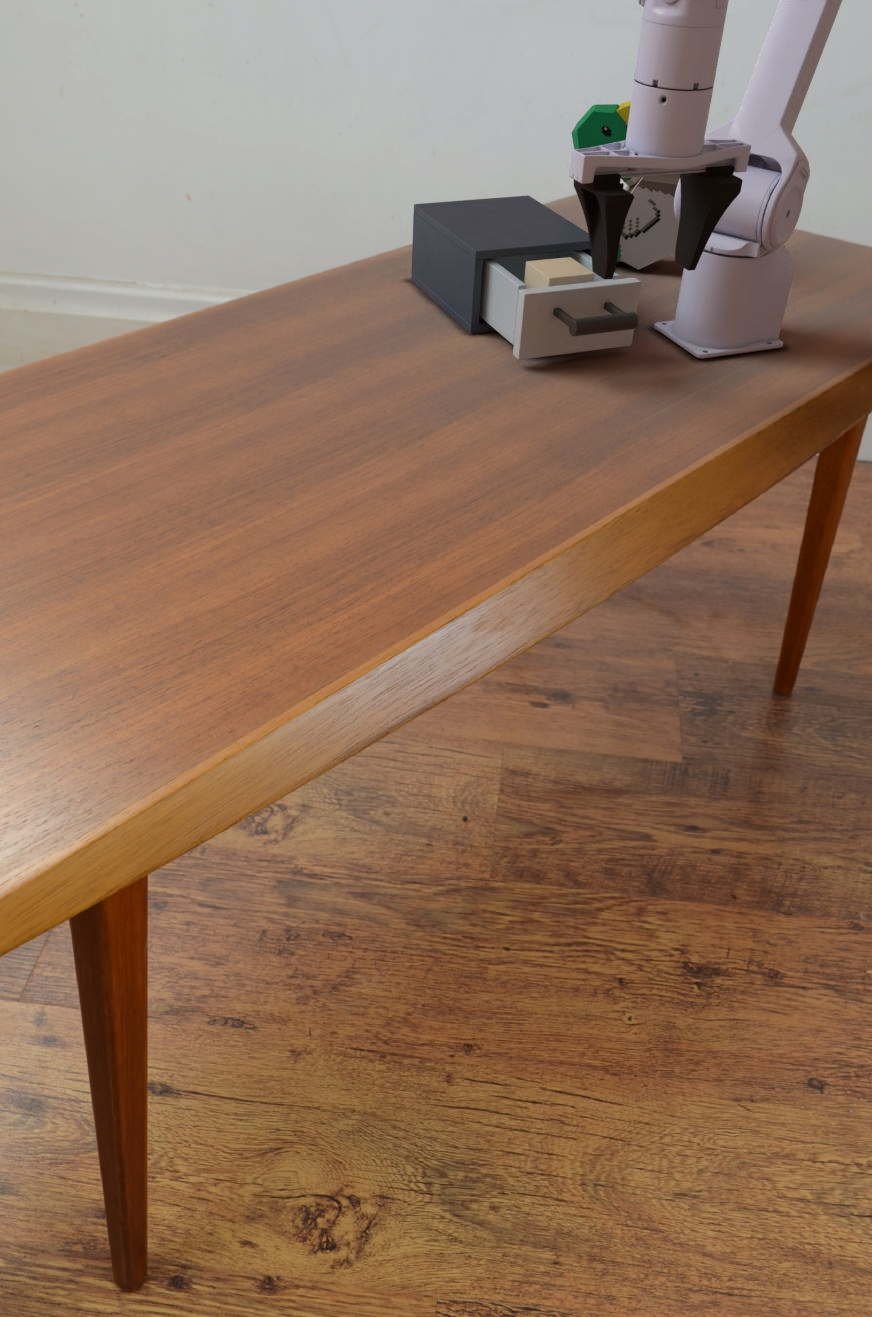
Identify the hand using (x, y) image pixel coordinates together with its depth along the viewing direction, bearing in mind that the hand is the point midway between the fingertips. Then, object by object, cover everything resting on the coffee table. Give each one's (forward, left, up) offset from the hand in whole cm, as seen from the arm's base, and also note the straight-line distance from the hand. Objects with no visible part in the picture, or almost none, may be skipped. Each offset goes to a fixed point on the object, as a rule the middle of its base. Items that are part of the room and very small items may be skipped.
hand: (644, 270), depth 91 cm
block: (+1, -12, -8) cm, 14 cm away
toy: (-19, -28, -11) cm, 35 cm away
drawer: (+1, -12, -10) cm, 15 cm away
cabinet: (+1, -23, -10) cm, 25 cm away
